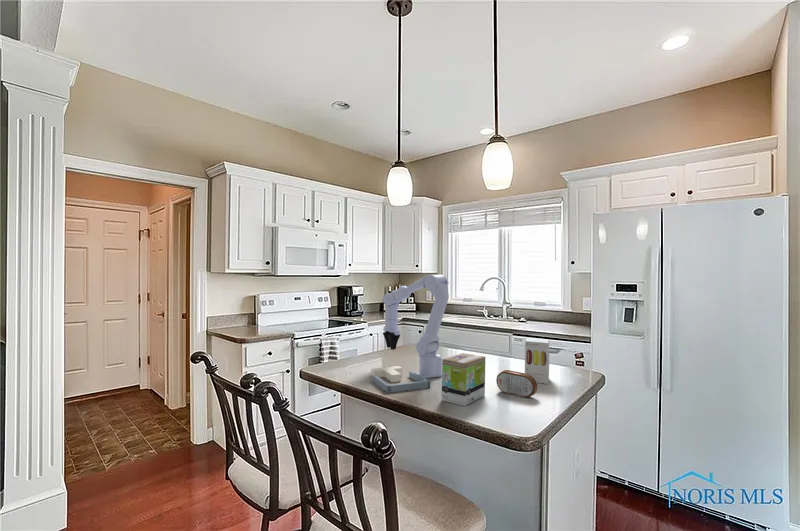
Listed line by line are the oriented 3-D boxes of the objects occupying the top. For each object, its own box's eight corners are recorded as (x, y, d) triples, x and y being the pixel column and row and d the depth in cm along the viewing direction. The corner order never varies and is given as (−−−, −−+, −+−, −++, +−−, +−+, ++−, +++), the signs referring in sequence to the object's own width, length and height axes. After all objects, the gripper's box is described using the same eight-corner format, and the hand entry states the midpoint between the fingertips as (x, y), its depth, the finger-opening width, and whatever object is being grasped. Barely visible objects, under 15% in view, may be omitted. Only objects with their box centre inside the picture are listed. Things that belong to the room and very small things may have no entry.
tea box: (466, 407, 134) (466, 362, 134) (440, 401, 140) (440, 358, 140) (485, 395, 146) (485, 355, 146) (461, 390, 152) (461, 351, 152)
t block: (398, 372, 178) (398, 365, 178) (411, 380, 166) (411, 372, 166) (371, 375, 173) (371, 368, 173) (381, 383, 161) (381, 376, 161)
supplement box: (524, 381, 164) (524, 340, 164) (525, 376, 172) (526, 337, 173) (548, 384, 160) (548, 342, 160) (549, 378, 169) (549, 338, 169)
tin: (537, 398, 143) (537, 374, 143) (534, 400, 141) (534, 376, 141) (498, 389, 153) (499, 367, 153) (495, 391, 151) (495, 369, 151)
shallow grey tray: (411, 376, 171) (411, 370, 171) (430, 387, 155) (430, 381, 155) (372, 381, 164) (372, 375, 164) (387, 393, 148) (387, 386, 148)
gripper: (377, 317, 190) (377, 346, 190) (389, 321, 176) (389, 352, 176) (391, 316, 193) (391, 345, 192) (403, 320, 179) (403, 350, 179)
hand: (391, 348), depth 185 cm, fingers open, 4 cm apart
